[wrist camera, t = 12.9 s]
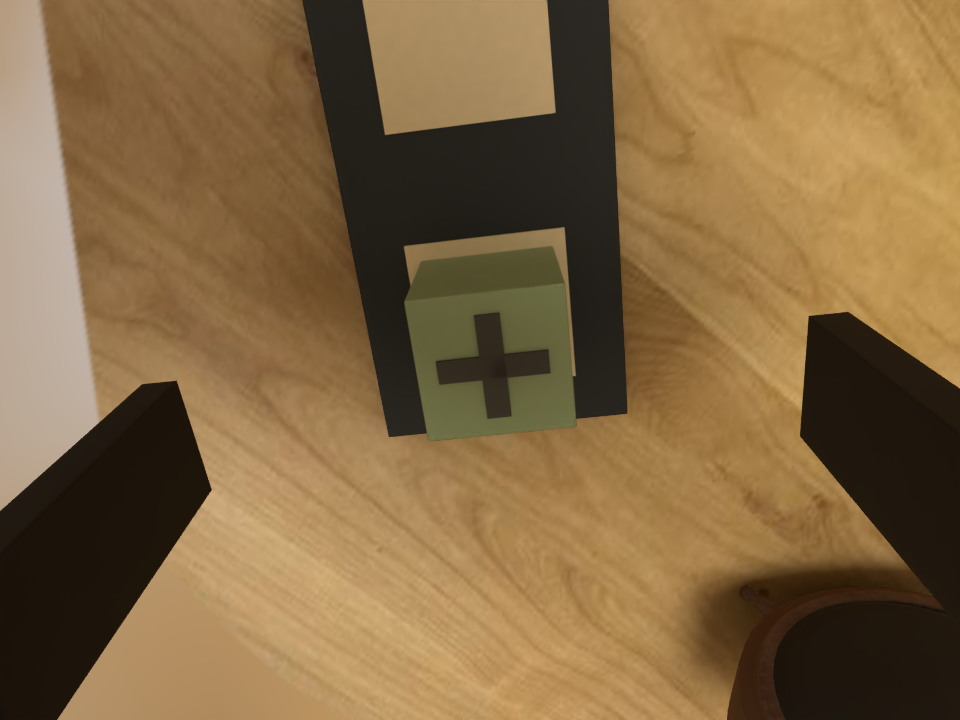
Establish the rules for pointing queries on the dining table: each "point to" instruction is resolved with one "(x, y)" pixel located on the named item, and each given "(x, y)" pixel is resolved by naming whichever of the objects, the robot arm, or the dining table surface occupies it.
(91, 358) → the dining table surface
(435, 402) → the green plus cube
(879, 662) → the alarm clock
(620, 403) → the word mat
